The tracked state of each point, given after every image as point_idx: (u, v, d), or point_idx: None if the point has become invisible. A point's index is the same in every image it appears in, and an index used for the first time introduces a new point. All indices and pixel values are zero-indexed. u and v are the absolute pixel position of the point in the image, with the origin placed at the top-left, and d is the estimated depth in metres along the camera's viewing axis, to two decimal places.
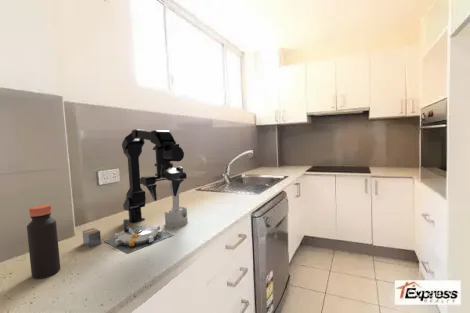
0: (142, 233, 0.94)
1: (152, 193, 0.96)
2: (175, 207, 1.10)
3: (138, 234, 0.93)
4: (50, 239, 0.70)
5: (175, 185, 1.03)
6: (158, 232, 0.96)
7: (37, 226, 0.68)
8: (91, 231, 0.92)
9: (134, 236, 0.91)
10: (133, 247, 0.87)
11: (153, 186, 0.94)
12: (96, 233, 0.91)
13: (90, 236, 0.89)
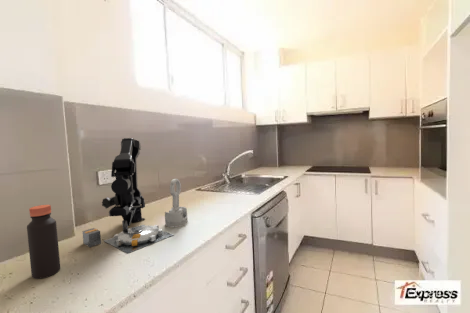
0: (143, 233, 0.94)
1: None
2: (175, 207, 1.10)
3: (139, 234, 0.93)
4: (50, 239, 0.70)
5: None
6: (159, 231, 0.96)
7: (37, 226, 0.68)
8: (91, 231, 0.92)
9: (135, 236, 0.91)
10: (133, 247, 0.87)
11: None
12: (96, 233, 0.91)
13: (90, 236, 0.89)
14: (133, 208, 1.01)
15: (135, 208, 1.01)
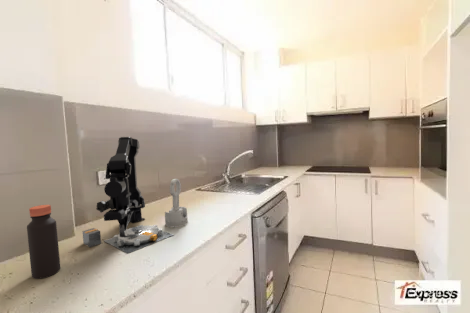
0: (146, 230, 0.97)
1: None
2: (175, 207, 1.10)
3: (145, 232, 0.95)
4: (50, 239, 0.70)
5: None
6: None
7: (37, 226, 0.68)
8: (91, 231, 0.92)
9: (146, 233, 0.93)
10: (133, 247, 0.87)
11: None
12: (96, 233, 0.91)
13: (90, 236, 0.89)
14: (130, 211, 0.96)
15: (132, 211, 0.96)
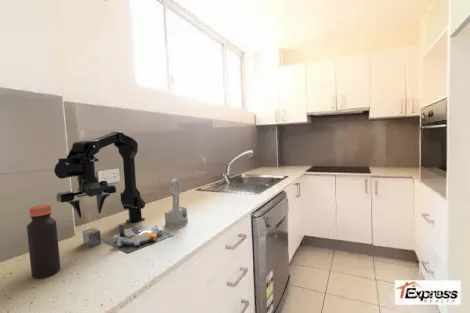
0: (146, 230, 0.97)
1: (76, 210, 0.88)
2: (175, 207, 1.10)
3: (145, 232, 0.95)
4: (50, 239, 0.70)
5: (99, 201, 0.94)
6: None
7: (37, 226, 0.68)
8: (91, 231, 0.92)
9: (146, 233, 0.93)
10: (133, 247, 0.87)
11: (75, 202, 0.86)
12: (96, 233, 0.91)
13: (90, 236, 0.89)
14: None
15: None
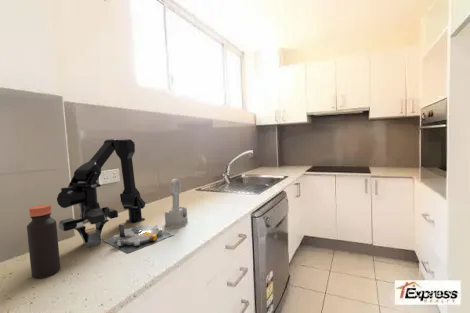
0: (146, 230, 0.97)
1: (81, 235, 0.90)
2: (175, 207, 1.10)
3: (145, 232, 0.95)
4: (50, 239, 0.70)
5: (98, 227, 0.94)
6: None
7: (37, 226, 0.68)
8: (91, 231, 0.92)
9: (146, 233, 0.93)
10: (133, 247, 0.87)
11: (81, 229, 0.88)
12: (96, 233, 0.91)
13: (90, 236, 0.89)
14: None
15: None
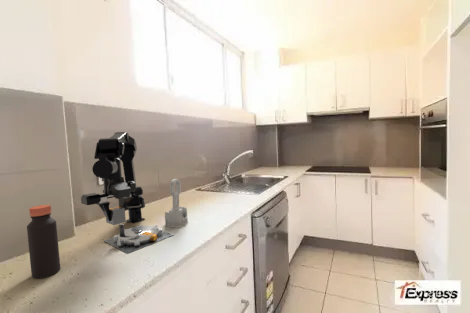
0: (146, 230, 0.97)
1: (105, 212, 0.82)
2: (175, 207, 1.10)
3: (145, 232, 0.95)
4: (50, 239, 0.70)
5: (122, 204, 0.86)
6: None
7: (37, 226, 0.68)
8: (115, 208, 0.83)
9: (146, 233, 0.93)
10: (133, 247, 0.87)
11: (105, 204, 0.79)
12: (120, 210, 0.83)
13: (114, 213, 0.81)
14: None
15: None
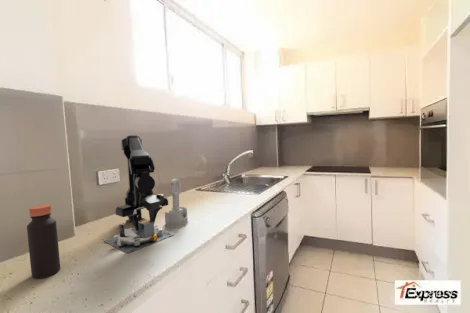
0: None
1: (134, 223, 0.89)
2: (175, 207, 1.10)
3: None
4: (50, 239, 0.70)
5: (152, 214, 0.94)
6: None
7: (37, 226, 0.68)
8: (145, 222, 0.92)
9: None
10: (133, 247, 0.87)
11: (135, 216, 0.87)
12: (150, 223, 0.91)
13: (145, 227, 0.89)
14: None
15: None
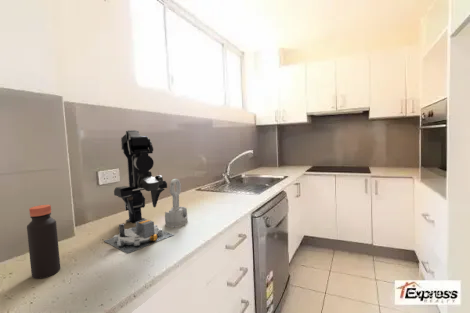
0: None
1: (128, 205, 0.87)
2: (175, 207, 1.10)
3: None
4: (50, 239, 0.70)
5: (154, 195, 0.95)
6: None
7: (37, 226, 0.68)
8: (145, 222, 0.92)
9: None
10: (133, 247, 0.87)
11: (129, 197, 0.85)
12: (150, 223, 0.91)
13: (145, 227, 0.89)
14: None
15: None
